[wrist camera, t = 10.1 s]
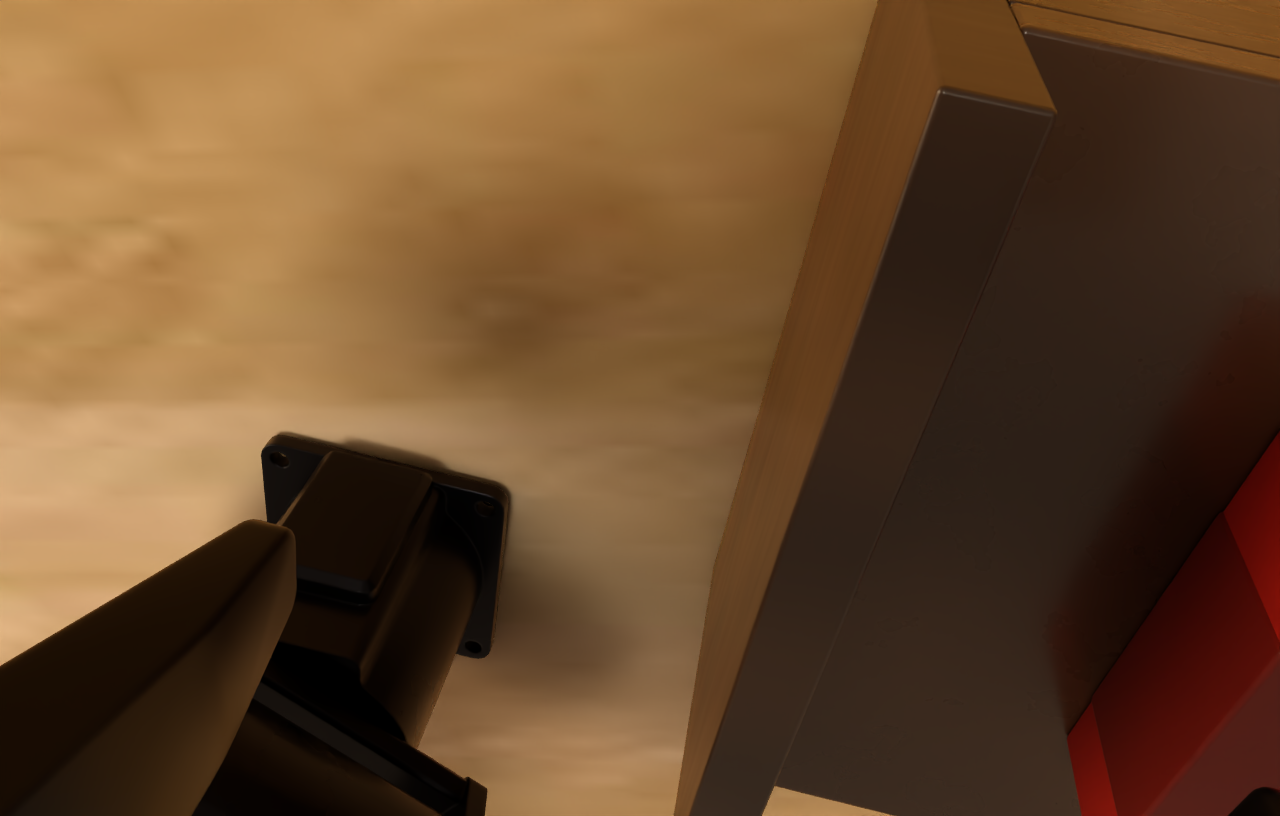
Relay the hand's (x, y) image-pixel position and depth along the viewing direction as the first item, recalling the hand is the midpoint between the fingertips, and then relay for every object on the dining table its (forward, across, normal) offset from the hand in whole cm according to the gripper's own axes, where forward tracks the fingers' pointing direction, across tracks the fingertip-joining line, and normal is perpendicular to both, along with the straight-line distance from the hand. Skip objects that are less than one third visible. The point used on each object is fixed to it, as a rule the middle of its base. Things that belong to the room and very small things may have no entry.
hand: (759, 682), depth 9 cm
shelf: (+13, -8, +3) cm, 15 cm away
